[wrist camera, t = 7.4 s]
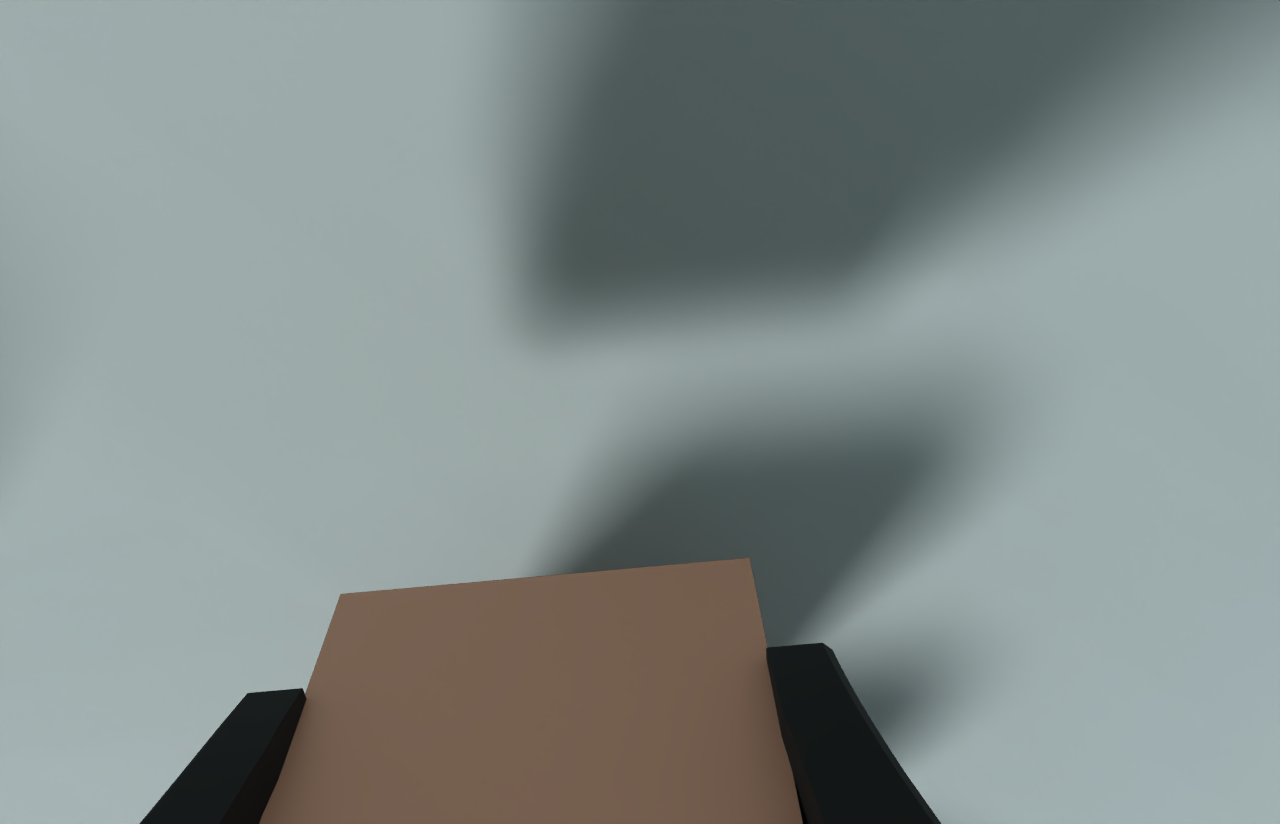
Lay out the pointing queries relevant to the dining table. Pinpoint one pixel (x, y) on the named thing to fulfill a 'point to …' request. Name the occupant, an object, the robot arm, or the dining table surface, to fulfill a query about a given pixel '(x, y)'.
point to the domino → (544, 705)
